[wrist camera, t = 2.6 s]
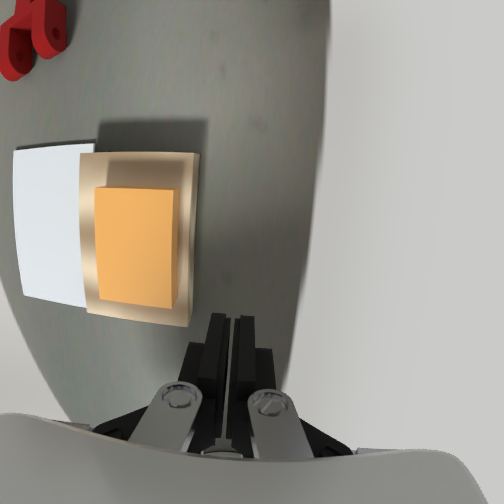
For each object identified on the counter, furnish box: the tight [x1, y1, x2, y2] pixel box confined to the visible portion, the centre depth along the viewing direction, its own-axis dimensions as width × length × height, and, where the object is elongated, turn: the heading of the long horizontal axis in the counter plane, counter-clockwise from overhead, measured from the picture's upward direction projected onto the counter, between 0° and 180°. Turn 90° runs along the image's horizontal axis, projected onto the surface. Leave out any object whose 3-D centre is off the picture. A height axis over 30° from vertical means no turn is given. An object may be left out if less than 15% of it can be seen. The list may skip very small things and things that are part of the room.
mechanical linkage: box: [0, 0, 67, 81], centre depth 19 cm, size 16×7×5 cm, turn 13°
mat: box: [13, 143, 95, 308], centre depth 28 cm, size 18×12×1 cm, turn 175°
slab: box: [94, 186, 180, 309], centre depth 25 cm, size 10×7×2 cm
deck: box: [79, 152, 200, 327], centre depth 27 cm, size 16×11×3 cm
